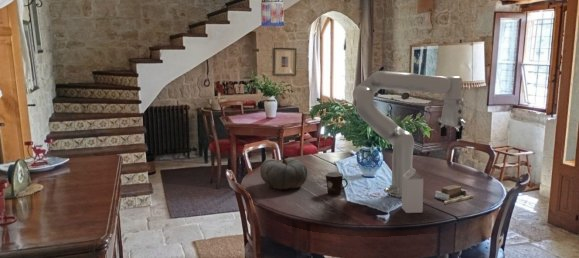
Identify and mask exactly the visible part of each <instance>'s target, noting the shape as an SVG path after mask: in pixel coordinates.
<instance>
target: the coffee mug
mask: <svg viewBox="0 0 579 258" xmlns="http://www.w3.org/2000/svg"><path fill="white" fill-rule="evenodd" d="M325 179H326V181H325V182H326V188H327V195H329V196H332V197H333V196H334V197H335V196H340V195H342V190H343V189H345V188H346V187H348V180H347V178H344V173H342V172H340V171H330V172H326V173H325ZM343 181H345V185H344V186H343Z"/></svg>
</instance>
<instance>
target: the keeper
mask: <svg viewBox="0 0 579 258" xmlns="http://www.w3.org/2000/svg"><path fill="white" fill-rule="evenodd" d="M434 196H435V198H436V199H440V200H443V201H448V200H452V199H457V198H461V197H465V196H468V190H466V189H462V188H461V196H458V197H454V198H449V195H448V194H445V193H442V191H439V190H435V195H434Z"/></svg>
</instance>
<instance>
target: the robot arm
mask: <svg viewBox="0 0 579 258" xmlns="http://www.w3.org/2000/svg"><path fill="white" fill-rule="evenodd" d="M462 85H463V78H462V76H455V75H453V76H452V75H451V76H440V75H425V74H417V73H412V72H399V71H390V70H389V71H387V70H376V71H375V72H373V73H372V74H371V75H369V76H367V78H366V79H364V80H363V81H362V82H360V83H359V84H358V85H357V86H355V88H354V89H353V91H352V98H353V99H354V101H355V107H356V112H357V114H358V116H359V117H360V118H361V120H363V121H364V122H365V123H366V124H368V126H370V127H371V128H372V129H373V131H374V132H375V133H376V134H377V135H379V136H380V137H381V138H383V139H384V140H385V141H386V142H388V143H389V144H390V145H392V146H393V149H392V159H391V184H390V185H389V187H388V188H386V187H385V188H383V192H384V193H388V195H389V194H390V196H391V195H392V196H391V197H394V196H396V197H395V198H400V197H402V176H403V174H405V173H406V172H407V171H408V170H409V169H410V166H411V167H412V168H413V154H414V148H415V139H414V136H413V134H412V133H411V132H409V131H407V130H405V129H404V128H402V127H400V126H399V125H398V124H397V123H396V122H394V120H393V119H392V118H391V117H390V116H387V114H385V113H384V112H382V111H381V110H380V109H379V108H378V107H377V106H376V105H375V103H374V100H375V95H376V93H377V92H379V91H380V90H390V91H403V92H404V91H405V92H423V93H424V92H425V93H434V94H435V93H437V94H444V95H443V96H444V99H443V105H442V111H441V116H440V117H438V118H437V121H438V125H439V128H440V137H446V136H447V133H448V131H447V130H448V128H447V127H448V126H449V127H454V128H455V129H456V130H455V140H462V137H463V131H464V129H465V128H466V127H467V124H468V123H467V122H466V121H465V120H464V111H463V109H464V108H463V105H462V103H463V101H462V90H463V89H462V88H463V86H462Z"/></svg>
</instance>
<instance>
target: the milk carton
mask: <svg viewBox="0 0 579 258" xmlns="http://www.w3.org/2000/svg"><path fill="white" fill-rule="evenodd" d="M416 172H417V170H416V169H415V168H413V166H412V167H411V166H410V169H409V170H408V171H407V172H406V173H405V174H403V176H402V198H401V209H402V210H403V211H404V212H405V214H415V213H416V214H417V213H420V214H421V213H423V210H424V209H423V206H424V205H423V202H424V178H423V177H421V176H420V175H419V174H418V173H416Z"/></svg>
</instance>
